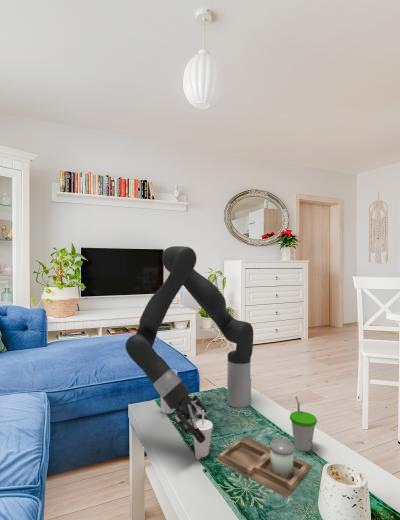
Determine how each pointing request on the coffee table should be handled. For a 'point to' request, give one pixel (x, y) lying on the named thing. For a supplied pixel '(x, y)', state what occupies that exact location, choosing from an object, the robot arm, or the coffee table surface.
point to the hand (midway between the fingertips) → (207, 434)
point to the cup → (303, 429)
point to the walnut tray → (261, 466)
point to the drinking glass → (164, 406)
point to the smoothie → (206, 429)
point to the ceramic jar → (281, 458)
